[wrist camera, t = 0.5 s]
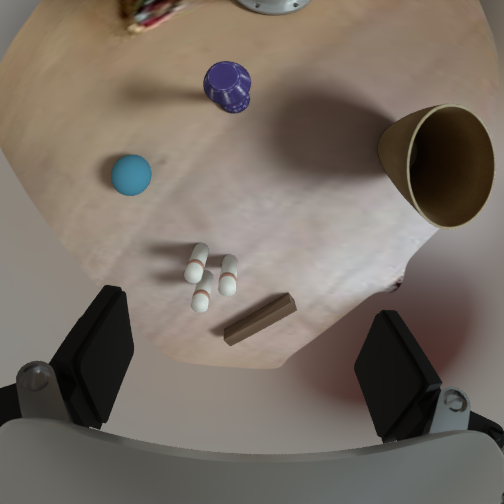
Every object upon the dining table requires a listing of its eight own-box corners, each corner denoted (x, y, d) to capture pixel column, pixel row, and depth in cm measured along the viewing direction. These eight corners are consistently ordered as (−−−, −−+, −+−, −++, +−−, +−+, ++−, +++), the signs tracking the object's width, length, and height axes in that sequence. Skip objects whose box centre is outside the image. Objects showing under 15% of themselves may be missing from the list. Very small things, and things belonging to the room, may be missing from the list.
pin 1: (195, 275, 48) (187, 304, 40) (207, 267, 47) (200, 295, 40) (205, 285, 49) (198, 315, 41) (216, 278, 48) (211, 307, 40)
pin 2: (219, 259, 47) (214, 287, 39) (231, 251, 46) (228, 277, 38) (228, 270, 48) (225, 299, 40) (240, 262, 47) (239, 290, 39)
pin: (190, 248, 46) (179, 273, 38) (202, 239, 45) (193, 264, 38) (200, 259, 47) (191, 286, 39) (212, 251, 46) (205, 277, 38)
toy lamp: (210, 103, 37) (187, 88, 21) (227, 76, 35) (214, 45, 20) (240, 118, 38) (235, 112, 22) (256, 91, 36) (263, 68, 21)
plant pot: (347, 107, 37) (399, 102, 22) (427, 105, 36) (492, 107, 21) (360, 201, 43) (409, 240, 28) (433, 190, 42) (494, 220, 27)
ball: (114, 169, 40) (96, 176, 35) (140, 144, 39) (125, 148, 33) (136, 198, 42) (121, 209, 37) (164, 174, 41) (151, 182, 35)
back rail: (224, 329, 53) (223, 339, 50) (288, 292, 50) (290, 302, 47) (231, 335, 53) (230, 346, 51) (294, 300, 50) (296, 310, 48)
